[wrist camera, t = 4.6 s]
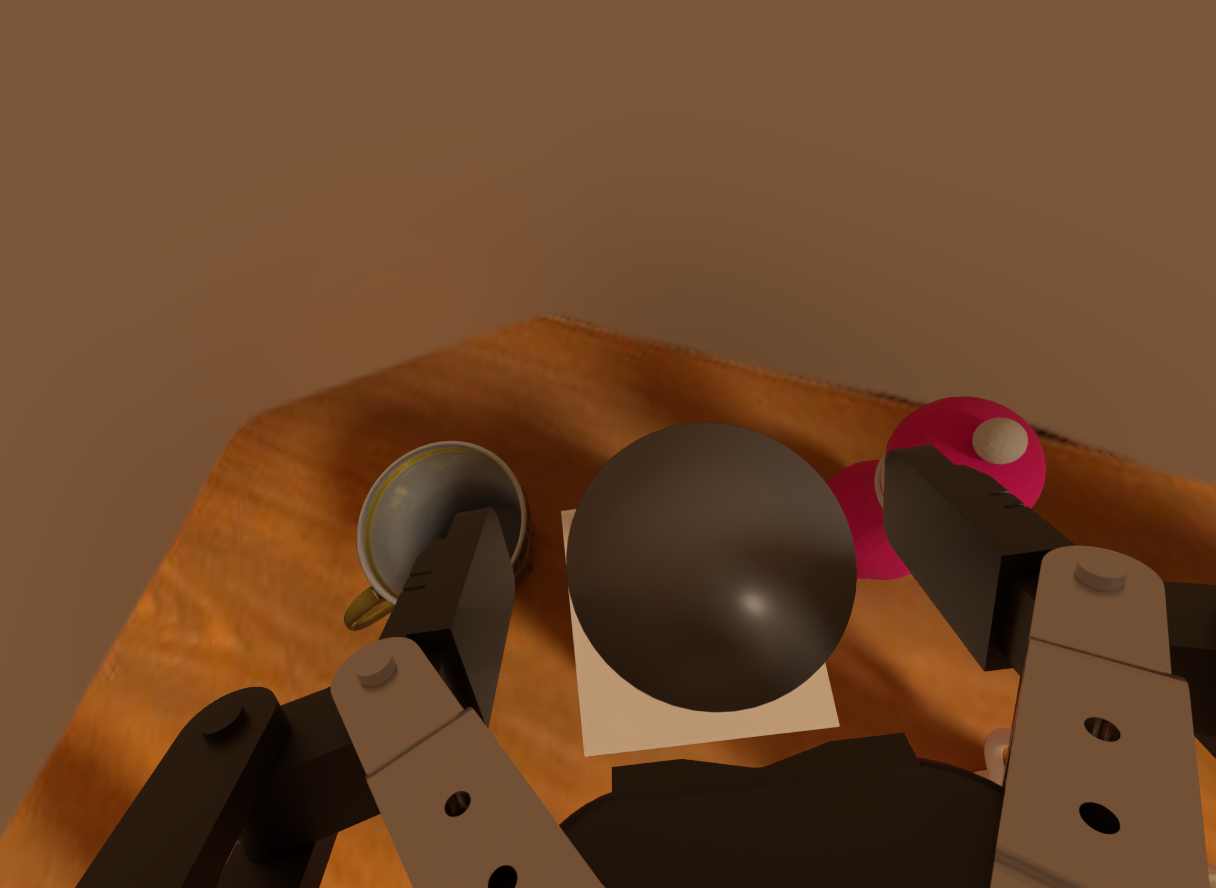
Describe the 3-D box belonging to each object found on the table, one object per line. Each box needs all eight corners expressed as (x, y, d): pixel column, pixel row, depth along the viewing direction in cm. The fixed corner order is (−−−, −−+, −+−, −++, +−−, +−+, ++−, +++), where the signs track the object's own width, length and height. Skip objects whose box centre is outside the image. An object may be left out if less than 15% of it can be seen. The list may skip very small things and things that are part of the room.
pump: (724, 565, 29) (817, 403, 10) (741, 660, 28) (893, 692, 8) (635, 578, 29) (554, 444, 10) (647, 672, 28) (581, 729, 9)
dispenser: (752, 512, 42) (806, 415, 24) (794, 713, 37) (896, 770, 20) (584, 535, 42) (520, 458, 25) (606, 735, 38) (546, 809, 21)
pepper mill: (806, 473, 42) (911, 334, 23) (914, 490, 41) (1115, 357, 22) (797, 575, 40) (903, 512, 21) (910, 596, 39) (1129, 547, 20)
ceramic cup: (499, 457, 45) (452, 407, 36) (589, 549, 42) (563, 522, 33) (367, 580, 43) (281, 562, 34) (451, 686, 40) (383, 699, 31)
